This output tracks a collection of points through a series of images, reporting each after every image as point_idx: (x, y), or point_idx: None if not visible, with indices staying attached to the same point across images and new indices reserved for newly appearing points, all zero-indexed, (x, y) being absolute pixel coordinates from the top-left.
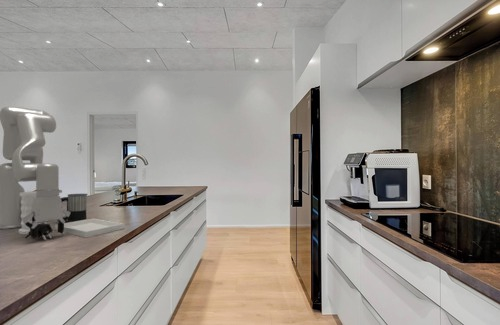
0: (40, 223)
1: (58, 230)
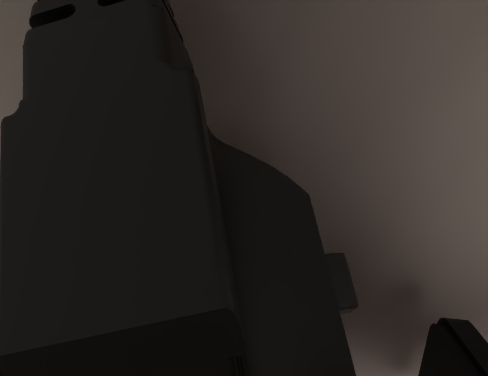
0: (121, 333)
1: (441, 367)
